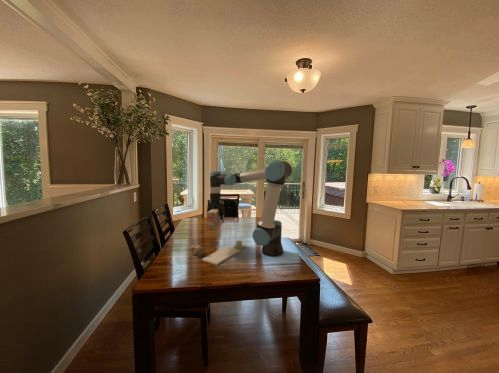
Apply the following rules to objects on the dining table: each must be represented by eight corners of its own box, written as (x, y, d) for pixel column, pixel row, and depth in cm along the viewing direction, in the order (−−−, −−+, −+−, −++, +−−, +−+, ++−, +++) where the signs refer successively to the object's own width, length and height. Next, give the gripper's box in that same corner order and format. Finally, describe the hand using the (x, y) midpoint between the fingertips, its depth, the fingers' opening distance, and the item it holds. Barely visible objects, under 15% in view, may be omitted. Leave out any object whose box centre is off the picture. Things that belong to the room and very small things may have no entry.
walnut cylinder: (206, 255, 154) (206, 247, 153) (201, 258, 150) (201, 249, 149) (201, 254, 156) (201, 245, 155) (196, 256, 152) (196, 247, 151)
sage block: (242, 245, 173) (242, 240, 173) (241, 249, 166) (241, 244, 166) (236, 245, 173) (236, 240, 173) (236, 249, 166) (236, 244, 166)
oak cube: (200, 252, 159) (200, 245, 158) (196, 255, 154) (196, 248, 154) (193, 251, 160) (193, 244, 160) (190, 254, 156) (189, 247, 155)
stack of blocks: (216, 221, 179) (216, 206, 178) (224, 222, 178) (224, 206, 177) (207, 229, 158) (206, 212, 157) (215, 230, 157) (215, 212, 156)
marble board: (240, 251, 162) (240, 249, 162) (216, 265, 140) (216, 263, 140) (226, 247, 168) (226, 246, 168) (202, 260, 146) (202, 258, 146)
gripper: (230, 192, 163) (230, 224, 165) (208, 191, 174) (208, 220, 176) (223, 194, 157) (224, 226, 159) (201, 192, 168) (201, 222, 170)
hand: (215, 223), depth 168 cm, fingers closed on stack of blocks, 8 cm apart
